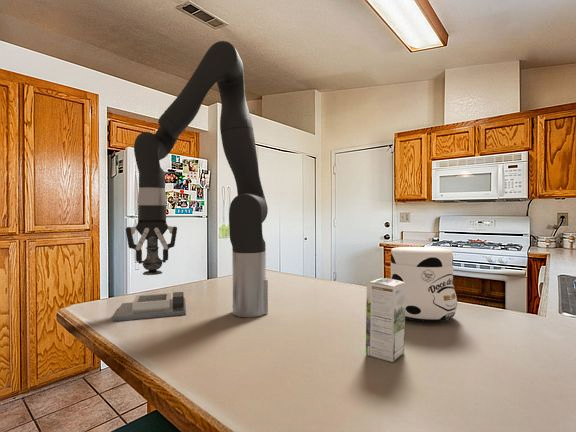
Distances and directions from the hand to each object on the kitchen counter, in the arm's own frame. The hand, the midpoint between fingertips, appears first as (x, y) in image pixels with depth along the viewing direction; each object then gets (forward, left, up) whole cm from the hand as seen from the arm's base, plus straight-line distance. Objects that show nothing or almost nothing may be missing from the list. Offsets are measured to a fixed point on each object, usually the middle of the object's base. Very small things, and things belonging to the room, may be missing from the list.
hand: (152, 262), depth 97 cm
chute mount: (0, 0, -14) cm, 14 cm away
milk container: (-69, +29, -14) cm, 76 cm away
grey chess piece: (0, 0, -3) cm, 3 cm away
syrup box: (-46, +47, -14) cm, 67 cm away
